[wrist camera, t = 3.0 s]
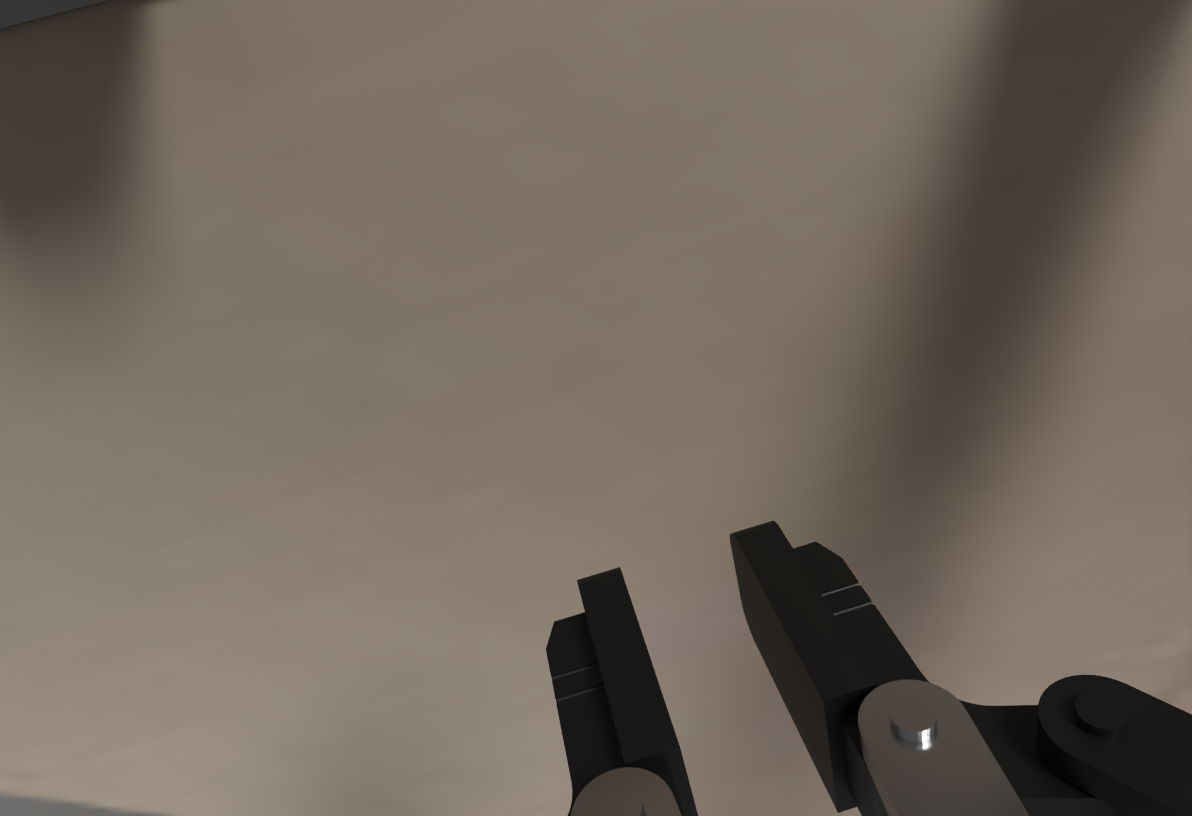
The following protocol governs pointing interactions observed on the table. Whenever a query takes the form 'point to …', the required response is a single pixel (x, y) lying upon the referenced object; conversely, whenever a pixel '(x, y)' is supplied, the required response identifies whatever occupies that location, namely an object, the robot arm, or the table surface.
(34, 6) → the mat
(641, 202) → the table surface
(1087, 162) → the table surface
